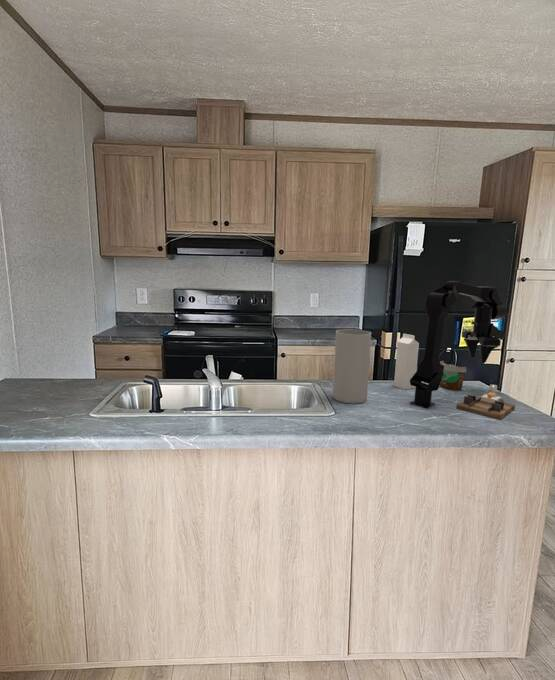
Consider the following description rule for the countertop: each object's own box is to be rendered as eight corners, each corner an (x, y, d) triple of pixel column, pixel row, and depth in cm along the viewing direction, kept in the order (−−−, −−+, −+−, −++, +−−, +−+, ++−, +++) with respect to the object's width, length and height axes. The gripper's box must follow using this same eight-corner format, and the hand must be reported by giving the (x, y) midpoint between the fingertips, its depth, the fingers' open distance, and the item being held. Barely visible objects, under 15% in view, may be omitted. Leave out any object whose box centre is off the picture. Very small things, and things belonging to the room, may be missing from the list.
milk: (404, 390, 159) (409, 336, 155) (393, 386, 164) (397, 333, 160) (415, 388, 162) (420, 335, 158) (404, 384, 167) (408, 332, 163)
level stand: (499, 419, 129) (501, 408, 128) (456, 408, 139) (457, 397, 138) (514, 408, 140) (516, 397, 139) (473, 399, 150) (474, 388, 149)
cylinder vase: (373, 399, 146) (378, 332, 142) (352, 406, 138) (357, 336, 133) (346, 391, 155) (350, 328, 151) (325, 397, 147) (328, 331, 143)
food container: (429, 384, 168) (431, 361, 166) (440, 383, 170) (442, 360, 169) (453, 392, 157) (456, 368, 155) (464, 391, 159) (467, 367, 158)
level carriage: (495, 404, 139) (497, 388, 138) (480, 400, 142) (482, 385, 141) (500, 401, 142) (502, 386, 141) (485, 397, 146) (487, 383, 145)
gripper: (518, 323, 141) (512, 366, 144) (491, 317, 159) (487, 355, 162) (486, 322, 141) (481, 365, 144) (463, 316, 160) (459, 354, 162)
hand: (478, 359), depth 153 cm, fingers open, 9 cm apart
